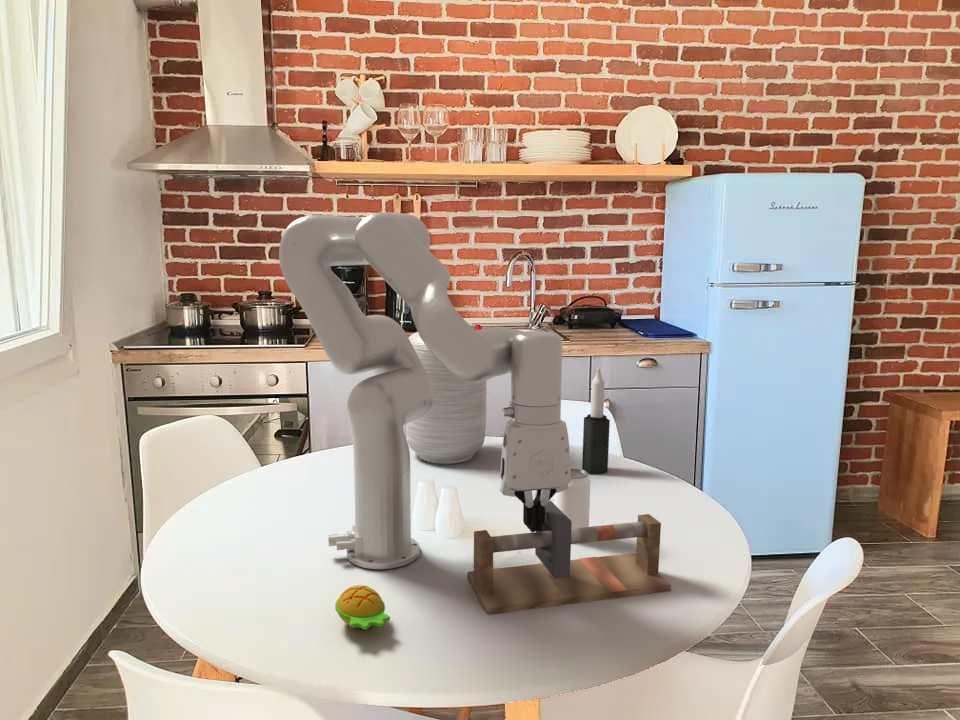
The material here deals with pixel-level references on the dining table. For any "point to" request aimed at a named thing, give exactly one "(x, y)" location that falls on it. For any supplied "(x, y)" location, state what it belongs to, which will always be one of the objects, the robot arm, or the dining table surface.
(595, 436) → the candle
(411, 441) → the vase
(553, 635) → the dining table surface
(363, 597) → the toy pineapple
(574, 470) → the can
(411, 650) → the dining table surface
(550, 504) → the collar
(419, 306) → the robot arm
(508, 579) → the rail
